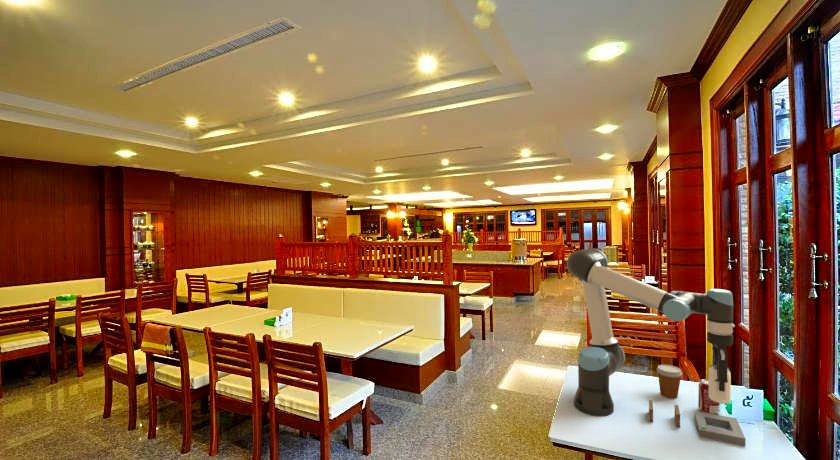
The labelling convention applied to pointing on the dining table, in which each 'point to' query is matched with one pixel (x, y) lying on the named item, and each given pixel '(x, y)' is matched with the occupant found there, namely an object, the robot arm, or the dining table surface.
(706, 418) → the port block
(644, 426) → the dining table surface
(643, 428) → the dining table surface
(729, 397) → the can
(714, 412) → the soda can
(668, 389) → the disposable coffee cup
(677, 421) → the brown narrow blocks
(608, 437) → the dining table surface
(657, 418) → the dining table surface
